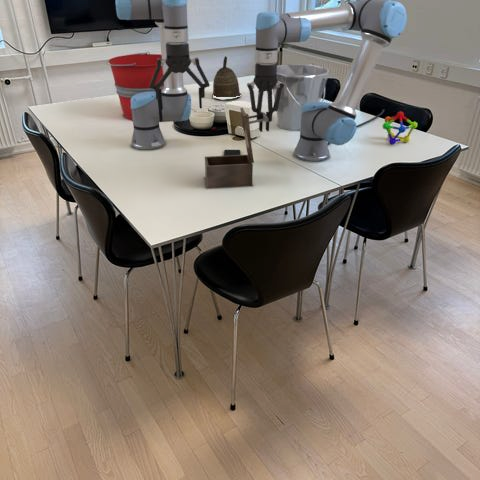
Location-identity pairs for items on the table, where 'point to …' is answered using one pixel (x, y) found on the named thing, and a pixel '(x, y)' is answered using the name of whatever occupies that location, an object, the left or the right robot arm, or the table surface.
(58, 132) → the table surface
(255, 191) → the table surface
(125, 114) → the bucket
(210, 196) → the table surface
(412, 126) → the educational toy
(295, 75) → the bucket
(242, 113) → the lid
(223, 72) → the bell
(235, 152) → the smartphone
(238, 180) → the chest
